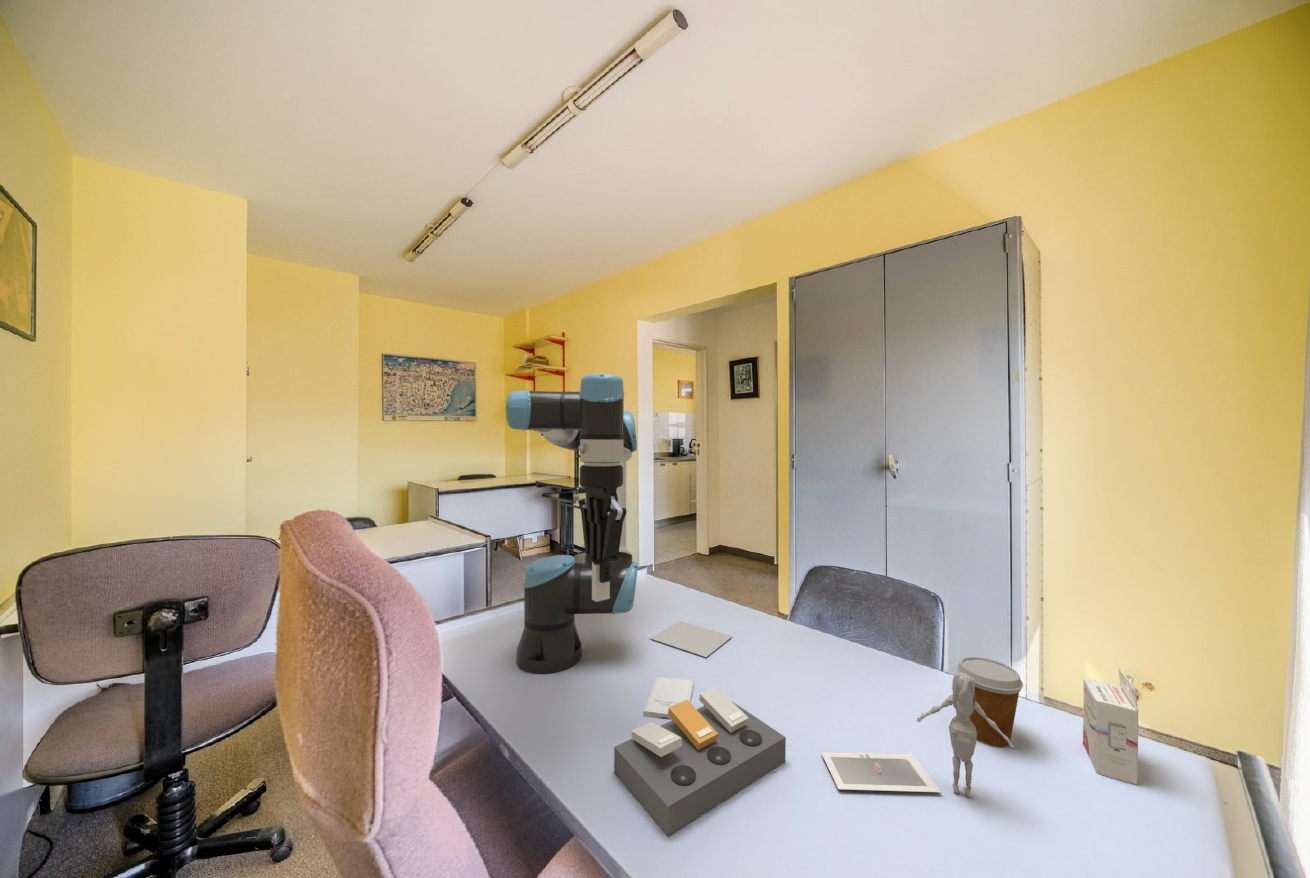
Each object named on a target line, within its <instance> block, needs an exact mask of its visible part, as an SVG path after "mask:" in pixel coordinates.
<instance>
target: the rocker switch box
mask: <svg viewBox="0 0 1310 878" xmlns="http://www.w3.org/2000/svg"><path fill="white" fill-rule="evenodd" d="M732 702H733V703H734V704H735V705H736V706H737V707H738V708H739V709H740V710H741V711H742V712H743V713H744V714H745V715H746V716H747V717H748V718H749V719H748V724H747V725H745V726H743V727H741V728H739V729H737V730H735V731H733V732H731V733H730V732H729V731H728V730H727V729H726V728H725V727H724V725H723V724H722V723H721V722H720V721H719V720H718V719H717V718H716V717H715V716H714V715H713V714H712V713H711V712H710V711H709V710H708V709H707V708H706V707H705V706H704V705H703V706H701V707H699V708H695V709H696V710H697V711H698V712H699V713H700V714H701V715H702V716H703V718H704V719H705V720H706V721H707V722H708V723H709V724H710V725H711V726H712V727H713V728H714V730H715V731H716V732H717V733H718V738H717V740H716V741H715V742H713V743H711V744H709V745H707V746H705V747H703V748H701V749H699V750H698V749H697V748H696V747H695V746H694V745H693V743H692V742H691V741H690V740H689V739H688V737H687V736H686V735H685V734H684V733H683V731H682V730H681V729H680V728H679V727H678V725H677V724H676V723H675V722H674V721H673V720H670V721H667V722H666V723H664V724H661V725H660V726H661V727H662V728H664V729H666V730H668V731H670V732H672V733H674V734H676V735H677V736H679V737H681V738H682V747H680V748H678V749H676V750H674V751H672V752H670V753H668V754H666V755H664V756H662V757H660V756H659V755H657V754H655V753H654V752H652V751H651V750H649V749H647V748H646V747H644V746H643V745H641V744H639V743H638V742H636V741H635V740H633V739H632V738H631V739H629V740H627V741H624V742H622V743H619V744H618V745H616V746H615V745H614V748H613V750H614V751H613V756H614V757H613V760H614V761H613V766H614V767H613V772H614V774H615V775H616V776H617V778H619V780H620V781H621V782H622V783H623V785H624V786H625V787H626V789H628V791H629V792H630V793H631V794H632V796H633V797H634V798H635V799H636V800H637V801H638V802H639V804H640V805H641V806H642V807H643V809H644V810H645V811H646V812H647V813H648V815H649V816H650V817H651V818H652V820H653V821H654V822H655V823H656V824H657V826H659V828H660V829H661V830H662V831H663V833H664V834H665V835H666V836H667V837H670V836H671V835H673V834H674V833H676V832H677V831H679V830H680V829H683V828H684V827H686V826H687V825H688V824H690V823H692V822H694V821H695V820H696V819H698V818H699V817H701V816H703V815H704V814H706V813H707V812H709V811H710V810H712V809H714V808H715V807H717V806H719V805H720V804H721V803H723V802H724V801H726V800H728V799H729V798H731V797H732V796H734V795H735V794H737V793H738V792H740V791H742V790H743V789H746V787H748V786H749V785H751V784H752V783H755V782H756V781H758V780H759V779H760V778H762V777H764V776H765V775H767V774H768V773H770V772H771V771H773V770H775V769H776V768H778V767H779V766H781V765H782V764H784V763H785V762H786V750H787V749H786V741H787V740H786V739H787V738H786V736H785V735H784V734H781V733H780V732H779V731H777V730H775V729H774V728H773V727H771V726H770V725H768V724H767V723H766V722H763V720H761V719H759V718H758V717H756V716H755V715H753V714H752V713H750V712H748V711H747V710H746V709H744V708H743V707H741V706H740V705H738V704H737V703H735V702H734V701H732Z"/></svg>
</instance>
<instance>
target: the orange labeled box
mask: <svg viewBox="0 0 1310 878" xmlns="http://www.w3.org/2000/svg"><path fill="white" fill-rule="evenodd" d="M696 709H697V708H695V706H694V705H692V703H691V702H689V701H688V700H685V701H683V702H680V703H678V704H676V705H673V706H671V707H669V709H668V715H669V716H670V717H671V718H672V719H673V721H674V722H675V723H676V724H677V725H678V727H679V728H680V729H681V730H682V731H683V733H684V734H685V735H686V736H687V737H688V739H689V740H690V741H691V742H692V743H693V745H694V746H695V747H696V748H697V749H698V750H699V749H701V748H703V747H705V746H707V745H709V744H711V743H713V742H715V741H716V740H717V738H718V733H717V732H716V731H715V730H714V728H713V727H712V726H711V725H710V724H709V723H708V722H707V721H706V720H705V719H704V718H703V716H702V715H701V714H700V713H699V712H698V711H697V710H696Z"/></svg>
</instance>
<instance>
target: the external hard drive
mask: <svg viewBox="0 0 1310 878" xmlns="http://www.w3.org/2000/svg"><path fill="white" fill-rule="evenodd" d="M694 685H695V682H694V681H693V680H690V679H682V678H673V677H665V676H656V677H655V679H654V682H653V684H652V688H651V690H650V693H649V696H648V699H647V701H646V704H645V707H644V709H643V712H642V713H643V714H642V716H643V717H649V718H657V719H667V720H670V721H672V720H673V719H672V718H671V717H670V716H669V715H668V709H669V707H671V706H673V705H676V704H678V703H680V702H683V701H685V700H688V701H689V702H690V701H691V700H692V697H691V696H692V695H693V692H694V687H695V686H694ZM690 703H691V702H690Z"/></svg>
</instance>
